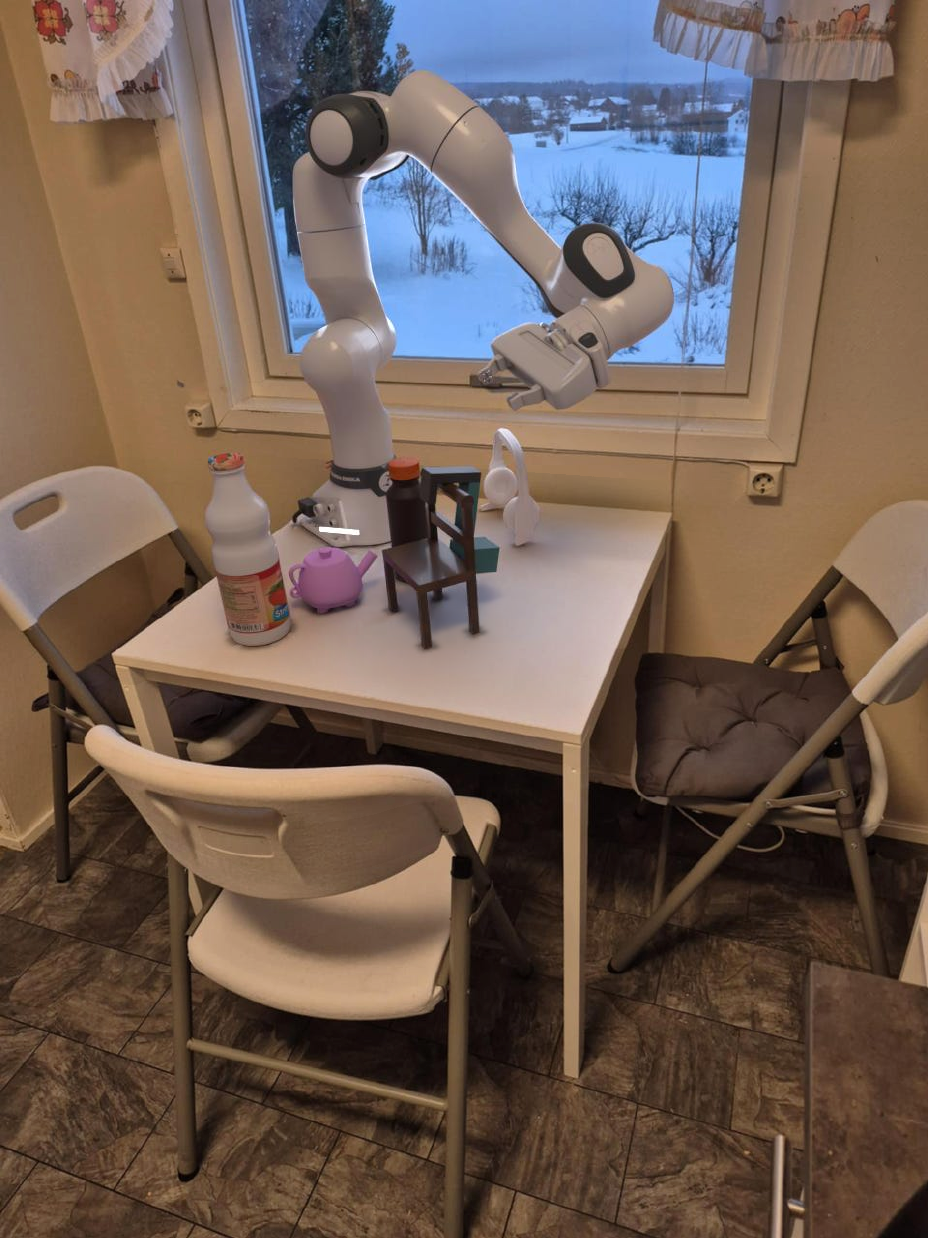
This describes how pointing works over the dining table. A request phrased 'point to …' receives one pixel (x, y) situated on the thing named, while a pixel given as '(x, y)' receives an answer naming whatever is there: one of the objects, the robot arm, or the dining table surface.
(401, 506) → the bottle
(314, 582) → the teapot
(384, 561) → the chair
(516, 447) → the headset
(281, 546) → the dining table surface
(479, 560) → the block
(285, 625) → the fruit juice
